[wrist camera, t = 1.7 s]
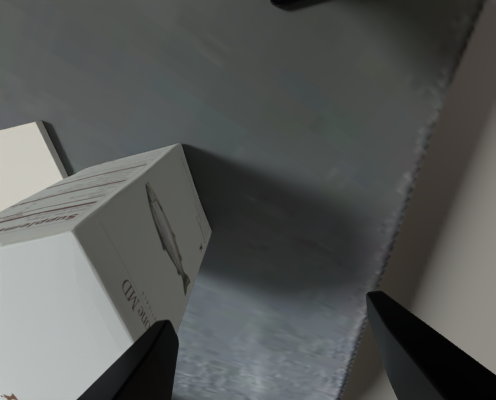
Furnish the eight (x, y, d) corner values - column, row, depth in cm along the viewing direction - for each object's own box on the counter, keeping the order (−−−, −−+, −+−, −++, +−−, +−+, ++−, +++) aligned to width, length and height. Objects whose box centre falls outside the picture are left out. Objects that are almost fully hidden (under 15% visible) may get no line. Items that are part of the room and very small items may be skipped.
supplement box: (215, 232, 23) (163, 397, 11) (126, 249, 24) (-3, 417, 12) (184, 138, 20) (74, 229, 8) (86, 163, 21) (-131, 273, 10)
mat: (41, 120, 20) (35, 121, 20) (120, 285, 25) (117, 290, 25) (-93, 153, 22) (-103, 155, 21) (8, 303, 27) (2, 308, 26)
